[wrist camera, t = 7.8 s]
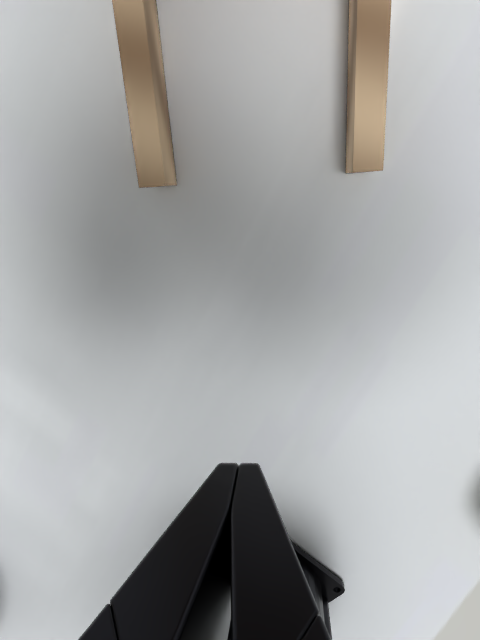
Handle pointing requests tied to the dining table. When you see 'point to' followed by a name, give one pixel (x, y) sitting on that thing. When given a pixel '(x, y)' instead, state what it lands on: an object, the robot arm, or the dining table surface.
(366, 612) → the dining table surface
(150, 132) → the channel
